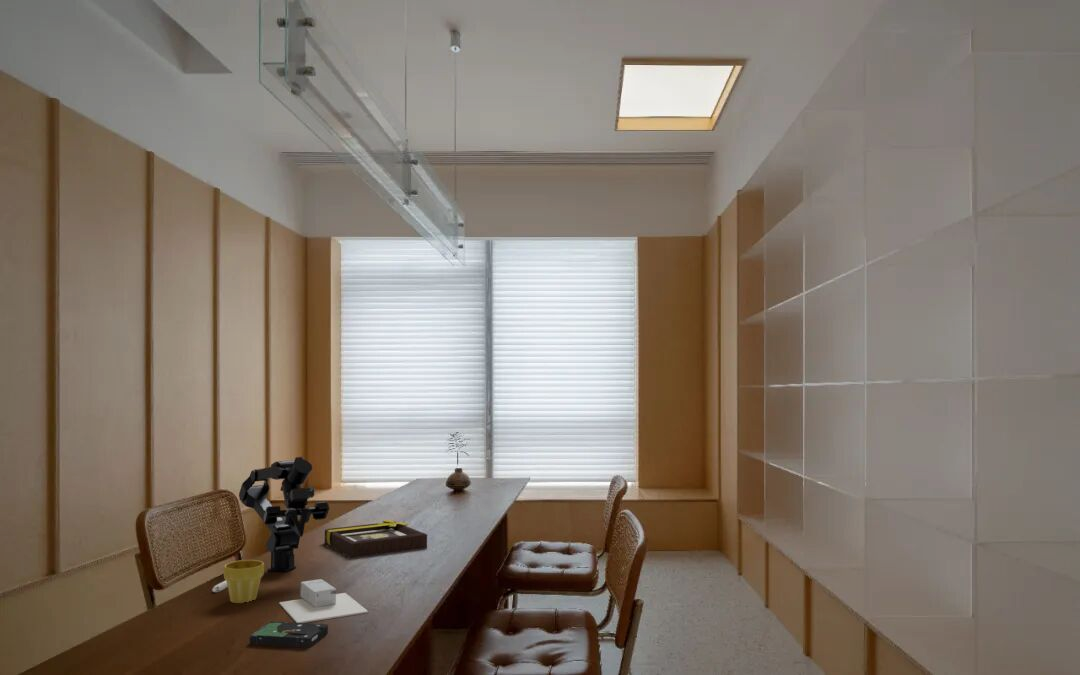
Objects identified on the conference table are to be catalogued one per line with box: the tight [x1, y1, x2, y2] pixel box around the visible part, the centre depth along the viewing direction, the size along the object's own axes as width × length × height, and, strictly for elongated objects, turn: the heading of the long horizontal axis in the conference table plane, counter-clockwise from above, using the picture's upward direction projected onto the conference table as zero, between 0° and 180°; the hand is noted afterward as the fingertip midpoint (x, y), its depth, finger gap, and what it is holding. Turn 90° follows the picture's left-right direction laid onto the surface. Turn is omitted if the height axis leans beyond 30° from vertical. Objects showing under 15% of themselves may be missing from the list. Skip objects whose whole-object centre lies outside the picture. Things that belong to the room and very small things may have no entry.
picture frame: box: [324, 519, 428, 559], centre depth 283 cm, size 28×7×30 cm
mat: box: [279, 592, 369, 623], centre depth 205 cm, size 20×18×1 cm
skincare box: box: [300, 578, 337, 607], centre depth 211 cm, size 6×4×12 cm
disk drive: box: [248, 621, 329, 649], centre depth 181 cm, size 10×3×15 cm
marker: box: [211, 579, 228, 593], centre depth 228 cm, size 18×2×2 cm, turn 174°
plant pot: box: [223, 559, 265, 604], centre depth 213 cm, size 10×10×10 cm
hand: (301, 535), depth 232 cm, fingers closed
